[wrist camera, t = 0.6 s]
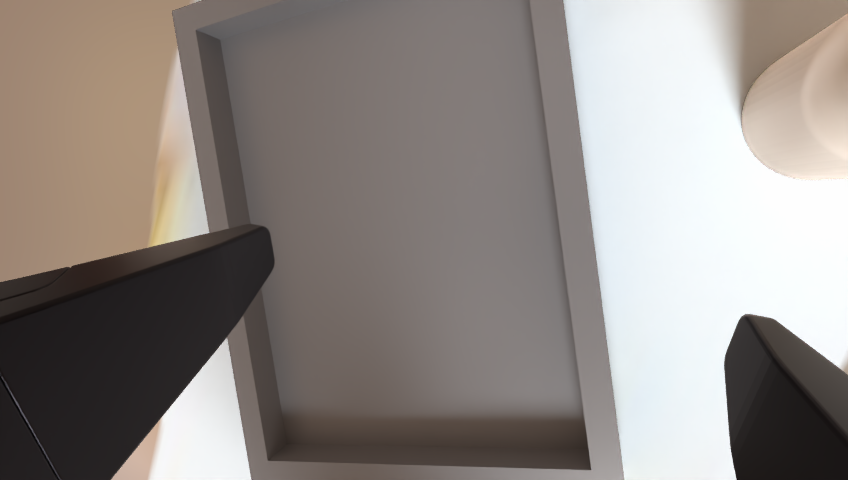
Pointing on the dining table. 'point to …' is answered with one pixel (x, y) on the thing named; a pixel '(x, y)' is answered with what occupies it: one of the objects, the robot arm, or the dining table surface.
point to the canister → (803, 109)
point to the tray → (406, 237)
